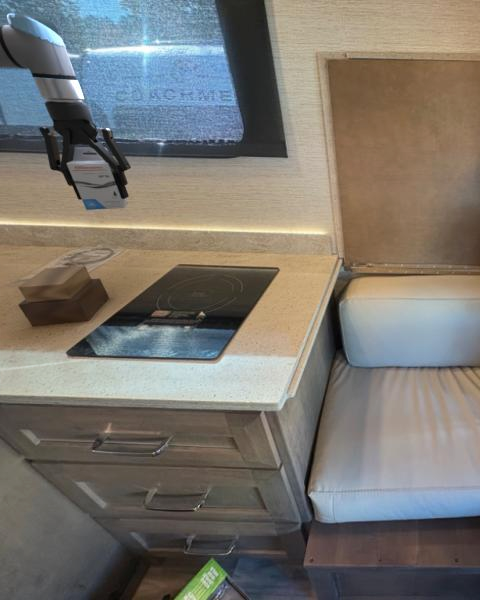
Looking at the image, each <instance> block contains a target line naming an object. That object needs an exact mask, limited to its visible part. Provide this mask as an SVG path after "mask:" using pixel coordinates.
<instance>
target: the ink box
mask: <svg viewBox="0 0 480 600" xmlns="http://www.w3.org/2000/svg"><path fill="white" fill-rule="evenodd" d="M104 148H105V149H106V150H107V151H108V152H109V150H108V148H107V147H104ZM88 152H90V153H95V154H84V153H88ZM67 166H68V168H69V171H70V173H71V176H72V178H73V180H74V183H75V185H76V187H77V189H78V192H79V194H80V196H81V199H82V200H81V201H82V203H83V205H84V208H85V210H86V211H95V210H112V209H113V210H115V209H125V208H126V206H127V205H128V200H127V198H125V199H122V198H121V196H120V193H119V190H118V188H117V185H116V182H115V180H114V177H113V175H112V173H114V172H115V171H114V170H113V169H112V168H111V167H110V166H109V164H108V163H106V161H105V160H104V159H103V158H102V157H101V156H100V155H99V154H98V153H97V152H96V151H95V150H94V149H93V148H91V147H75V149H74V156H73V161H71V162H68V163H67Z"/></svg>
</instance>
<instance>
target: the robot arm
mask: <svg viewBox="0 0 480 600" xmlns="http://www.w3.org/2000/svg"><path fill="white" fill-rule="evenodd" d="M6 18H7V21H8V22H7V23H8V24H0V68H11V69H13V68H14V69H25V70H26V69H27V70H29V71H30V73H31V76H32V78H33V80H34V82H35V85H36V87H37V89H38V92H39V95H40V98H42V99H44V100H46V101H45V102H44V106H45V108H46V110H47V113H48V115H49V118H50V119H51V120H52V123H53V124H52V126H47V125H46V126H39V128H38V130H39V132H40V134H41V135H42V137H43V139H44V144H45V150H46V154H47V155H46V156H47V160H48V165H49V169H50V170H52V171H54V172H55V171H56V172H60V173H61V174H62V175H63V177H64V179H65V182H66V184H67V185H68V187H72V188H73V190H74V193H75V195H76V198H77V199H78V201H79V200H81V201H82V199H81V196H80V194H79V192H78V189H77V187H76V185H75V183H74V180H73V178H72V176H71V173H70V171H69V168H68V166H67V163H68V162H71V161H73V156H74V149H75V148H76V146H77V145H83V146H84V145H85V146H89V148H93V149H94V150H95V151H96V152H97V153H98V154H99V155H100V156H101V157H102V158H103V159H104V160H105V161H106V163H108V164H109V166H110V167H111V168H112V169H113V170H114V171H115V172H114V173H112V175H113V177H114V180H115V182H116V185H117V188H118V190H119V193H120V196H121V198H122V199H125V198H126V199H127V198H128V197H130V195H129V193H128V190H127V187H126V186H127V185H128V182H129V181H128V179H127V176H126V173H125V172H126V171H128V170H130V169H131V168H132V167H131V164H130V163H129V161H128V159H127V157H126V155H124V152H123V151H122V149H121V148H120V146H119V145H118V142H117V141H116V139H115V138H114V134H113V133H114V132H113V129H112V128H110V127H106V128H104V127H98V126H97V125H96V124H95V123H94V121H93V117H92V114H91V112H90V109H89V107H88V104H86V103H85V102H83V101H85V96H84V94H83V91H82V88H81V85H80V83H79V81H78V78H77V75H76V73H75V70H74V68H73V65H72V62H71V59H70V56H69V53H68V51H67V47H66V44H65V43H64V40H63V38H62V36H61V34H60V32H59V29H58V27H57V26H56V24H55V23H54V22H53V21H52V20H50V19H48V18H46V17H42V16H37V15H32V14H26V13H13V12H11V13H8V14H7V15H6ZM58 134H59V136H60V137H62V142H61V143H62V153H61V155H60V151H59V145H58V140H57V137H56V136H57V135H58ZM98 134H99V135H100V137H101V138H103V141H104V142H105V144H106V146H107V147H108V148H109V150H110V152H111V153H110V152H109V150H108V149H107V150H108V151H107V150H106V149H105V148H106V147H104V145H103V144H102V142H101V141H100V140H99V139H98V138H97V136H98ZM97 153H96V154H97Z"/></svg>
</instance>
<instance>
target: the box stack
mask: <svg viewBox="0 0 480 600" xmlns="http://www.w3.org/2000/svg"><path fill="white" fill-rule="evenodd" d="M17 288H18V289H19V291H20V293H21V294H22V296H23V298H24V299H23V300H22V301H21V302H20V303H18V308H19V309H20V310H21V312H22V313H23V314H24V317H26V319H27V320H28V322H29V324H30V325H31V327H39V326H49V325H59V324H70V323H80V322H89V321H90V320H92V318H93V316H95V315H96V314H97V312H98V311H99V310H100V309H101V308H102V307H103V306H104V305H105V304H106V303H107V301H108V300H109V299H110V297H109V294H108V292H107V290H106V288H105V286H104V284H103V281H102V280H101V278H100V277H99V278H92V277H91V275H90V273H89V271H88V268H87V267H86V265H75V266H74V265H73V266H58V267H46V268H43V270H41V271H39V272H38V273H37V274H35V275H34V276H32V277H31V278H30V279H28V280H27V281H25V282H23V283H22V284H21V285H20V286H18V287H17Z"/></svg>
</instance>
